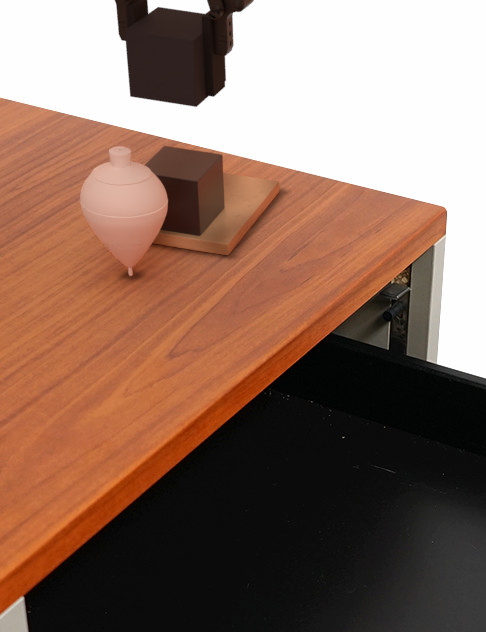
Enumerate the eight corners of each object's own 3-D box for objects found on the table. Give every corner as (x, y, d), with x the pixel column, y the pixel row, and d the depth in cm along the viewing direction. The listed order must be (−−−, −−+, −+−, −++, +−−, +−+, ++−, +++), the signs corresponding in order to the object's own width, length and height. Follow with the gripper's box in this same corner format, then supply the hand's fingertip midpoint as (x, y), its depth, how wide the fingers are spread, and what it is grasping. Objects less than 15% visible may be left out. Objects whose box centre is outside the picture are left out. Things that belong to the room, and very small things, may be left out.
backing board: (110, 236, 135) (103, 170, 130) (170, 175, 147) (166, 112, 143) (228, 255, 133) (225, 188, 129) (279, 192, 145) (278, 129, 141)
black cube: (129, 96, 118) (124, 30, 115) (162, 71, 123) (157, 6, 120) (196, 107, 117) (193, 40, 114) (226, 80, 123) (223, 16, 119)
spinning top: (111, 251, 132) (99, 127, 125) (186, 266, 131) (178, 141, 123) (73, 285, 126) (58, 157, 119) (150, 301, 125) (140, 172, 118)
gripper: (294, -214, 107) (297, 87, 122) (65, -242, 110) (95, 56, 124) (261, -198, 102) (268, 116, 116) (21, -228, 104) (57, 83, 119)
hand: (178, 84), depth 120 cm, fingers closed on black cube, 6 cm apart
